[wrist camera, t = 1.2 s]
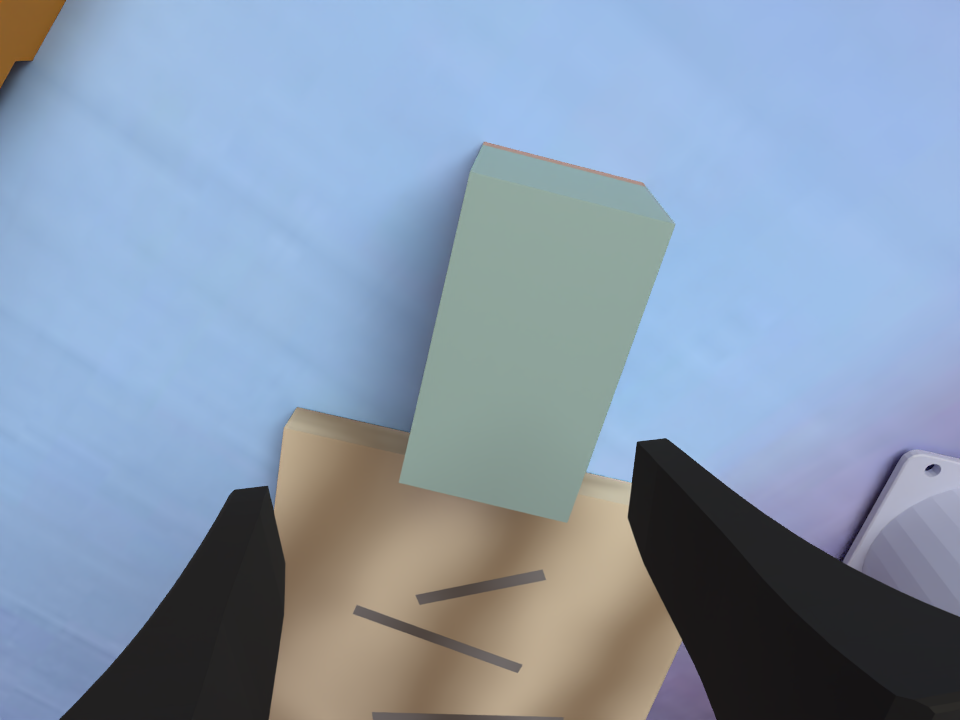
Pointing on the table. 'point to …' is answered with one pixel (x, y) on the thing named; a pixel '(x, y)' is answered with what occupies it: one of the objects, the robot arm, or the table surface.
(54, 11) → the bracket
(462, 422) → the block
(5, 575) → the table surface
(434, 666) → the birch board
